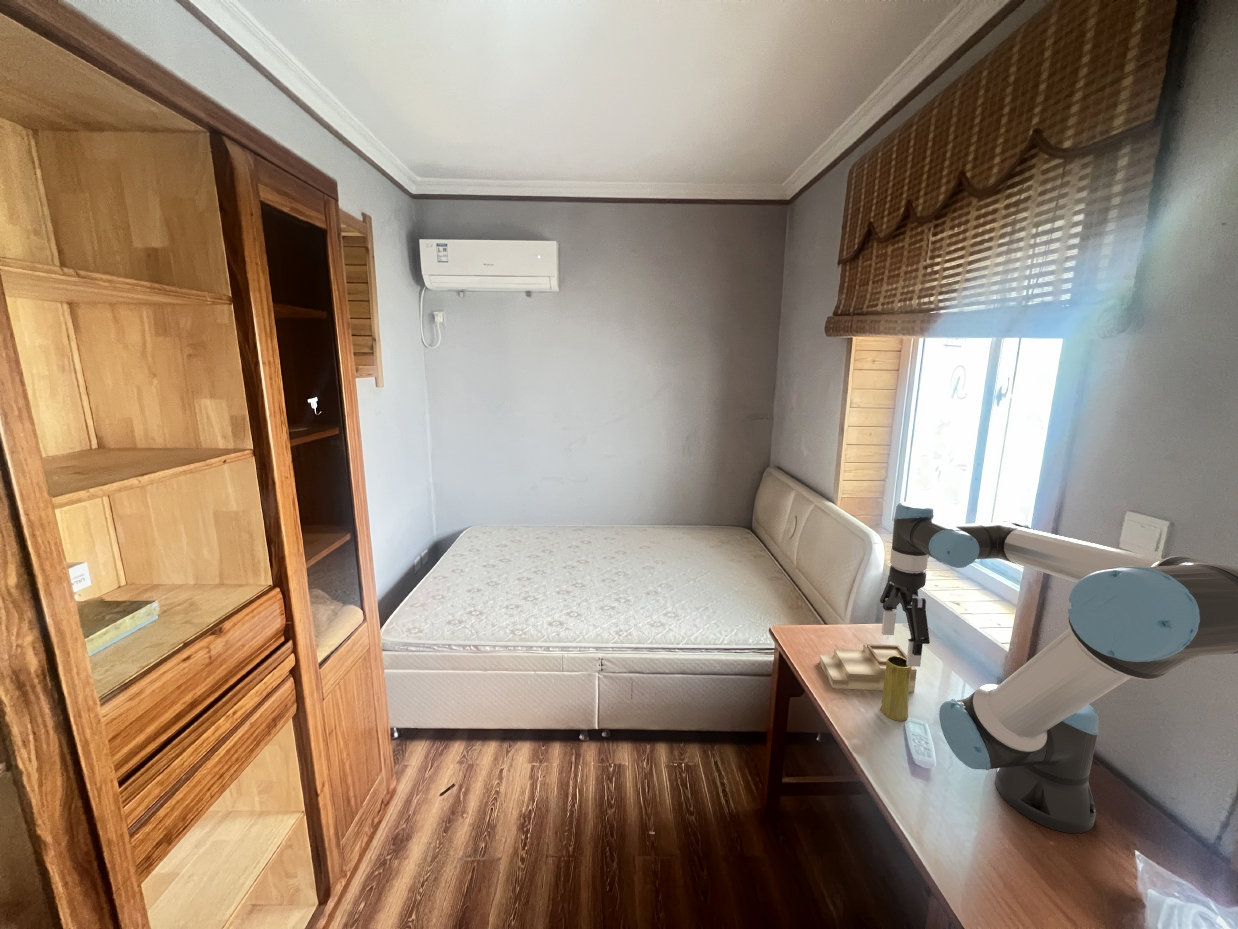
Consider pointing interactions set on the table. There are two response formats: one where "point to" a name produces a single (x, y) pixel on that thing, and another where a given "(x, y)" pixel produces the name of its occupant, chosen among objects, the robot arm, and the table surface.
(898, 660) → the vase
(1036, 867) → the table surface
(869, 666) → the step stand
